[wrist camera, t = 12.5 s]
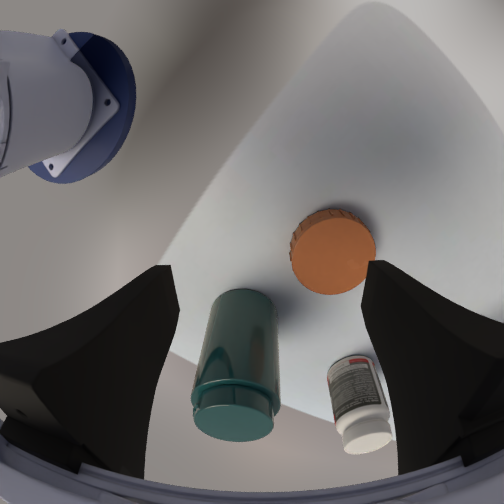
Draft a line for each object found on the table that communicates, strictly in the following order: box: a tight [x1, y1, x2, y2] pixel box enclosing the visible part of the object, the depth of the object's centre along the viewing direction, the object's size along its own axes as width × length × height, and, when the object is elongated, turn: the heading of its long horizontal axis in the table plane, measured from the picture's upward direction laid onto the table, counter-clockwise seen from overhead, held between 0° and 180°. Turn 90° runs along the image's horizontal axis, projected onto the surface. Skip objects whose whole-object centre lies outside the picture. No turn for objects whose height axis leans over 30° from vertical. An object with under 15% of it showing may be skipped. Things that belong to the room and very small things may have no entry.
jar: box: [191, 289, 281, 442], centre depth 19 cm, size 5×5×10 cm
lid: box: [289, 209, 376, 295], centre depth 19 cm, size 6×6×2 cm
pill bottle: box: [327, 356, 392, 454], centre depth 22 cm, size 5×5×8 cm
